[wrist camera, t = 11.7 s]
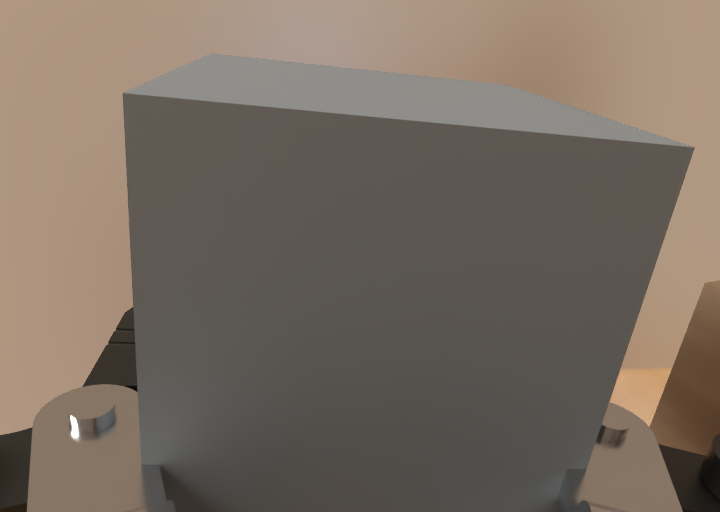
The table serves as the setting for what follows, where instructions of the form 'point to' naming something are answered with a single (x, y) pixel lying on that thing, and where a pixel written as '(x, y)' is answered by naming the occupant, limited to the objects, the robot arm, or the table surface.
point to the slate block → (380, 285)
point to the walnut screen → (694, 382)
